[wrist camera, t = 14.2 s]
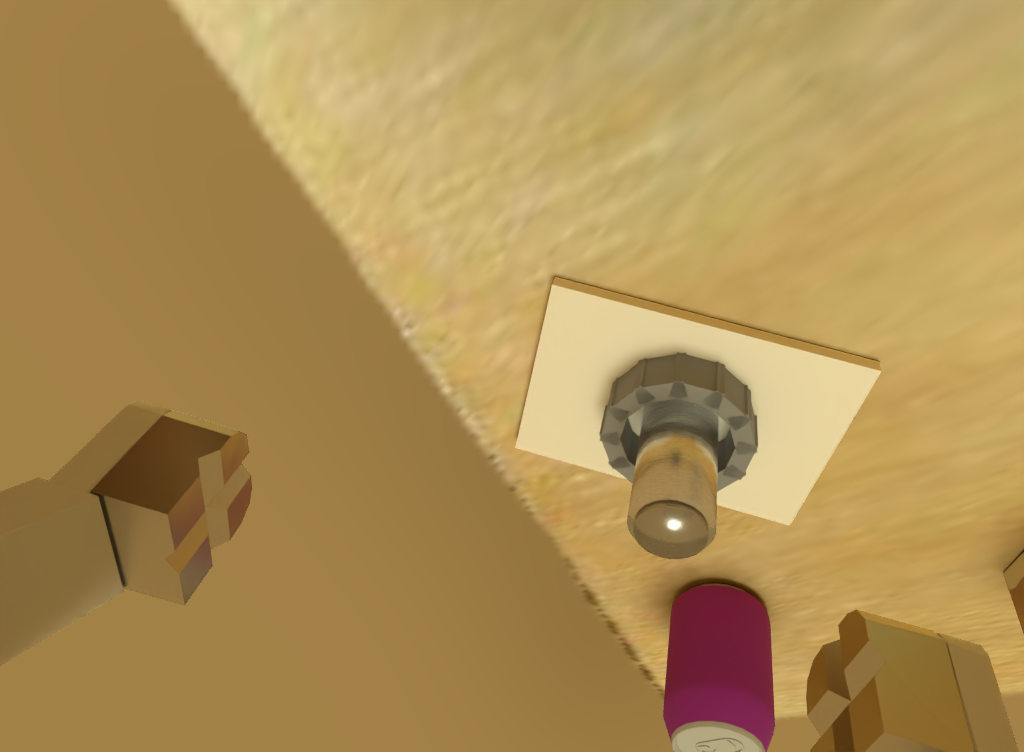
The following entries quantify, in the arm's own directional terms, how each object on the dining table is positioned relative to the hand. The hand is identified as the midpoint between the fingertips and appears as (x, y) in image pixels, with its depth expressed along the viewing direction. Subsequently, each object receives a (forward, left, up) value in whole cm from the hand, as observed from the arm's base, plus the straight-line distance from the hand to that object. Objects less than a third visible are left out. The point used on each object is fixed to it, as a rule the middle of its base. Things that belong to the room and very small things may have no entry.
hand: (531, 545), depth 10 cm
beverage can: (-16, +42, -34) cm, 57 cm away
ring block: (-7, +23, -34) cm, 42 cm away
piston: (-7, +23, -33) cm, 41 cm away
